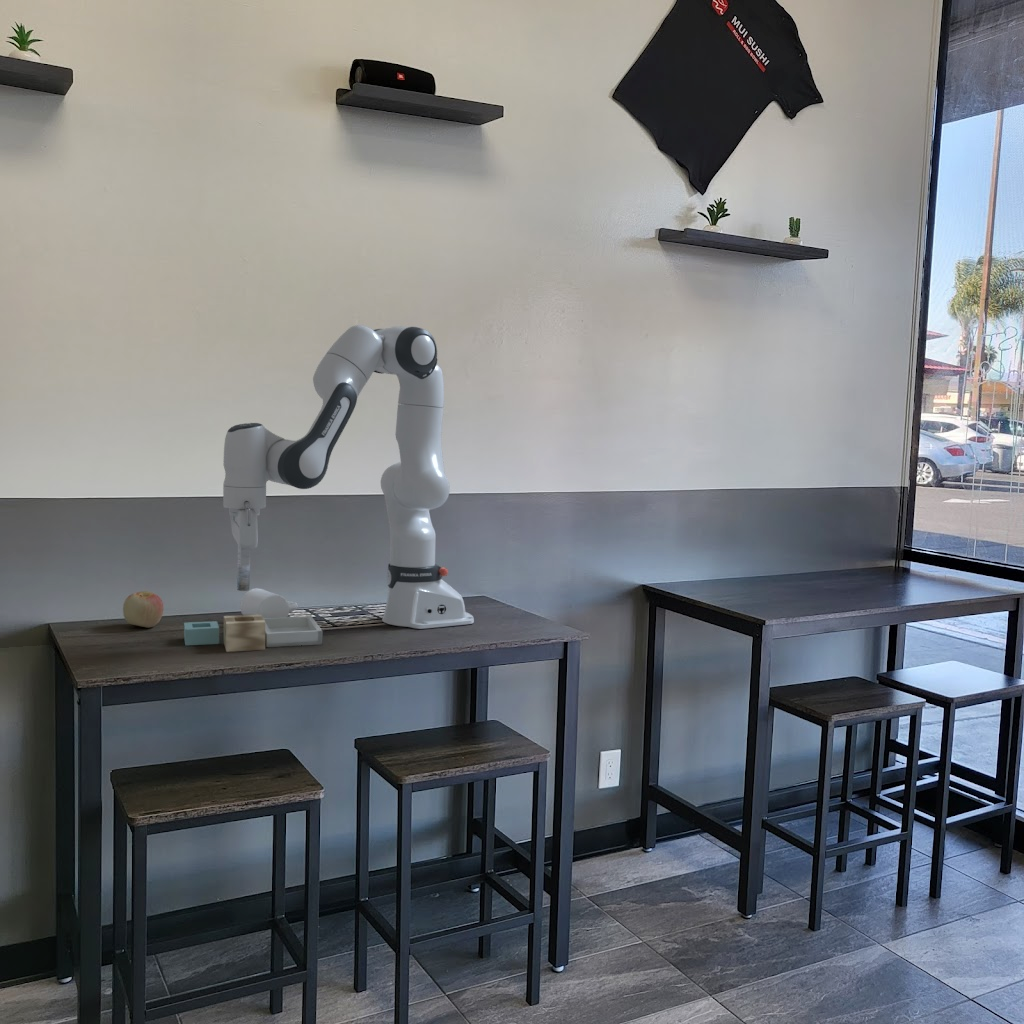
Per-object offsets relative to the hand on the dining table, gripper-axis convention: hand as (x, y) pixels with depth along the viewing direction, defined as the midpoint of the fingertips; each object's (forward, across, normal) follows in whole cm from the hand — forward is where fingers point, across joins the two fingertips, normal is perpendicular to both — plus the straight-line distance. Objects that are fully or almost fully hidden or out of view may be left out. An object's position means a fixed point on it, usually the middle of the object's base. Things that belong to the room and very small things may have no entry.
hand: (244, 563), depth 213 cm
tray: (+18, +6, -11) cm, 22 cm away
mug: (+18, +22, -9) cm, 30 cm away
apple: (+18, +24, +20) cm, 36 cm away
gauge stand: (+18, +7, +8) cm, 21 cm away
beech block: (+18, 0, 0) cm, 18 cm away
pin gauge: (+6, 0, 0) cm, 6 cm away
